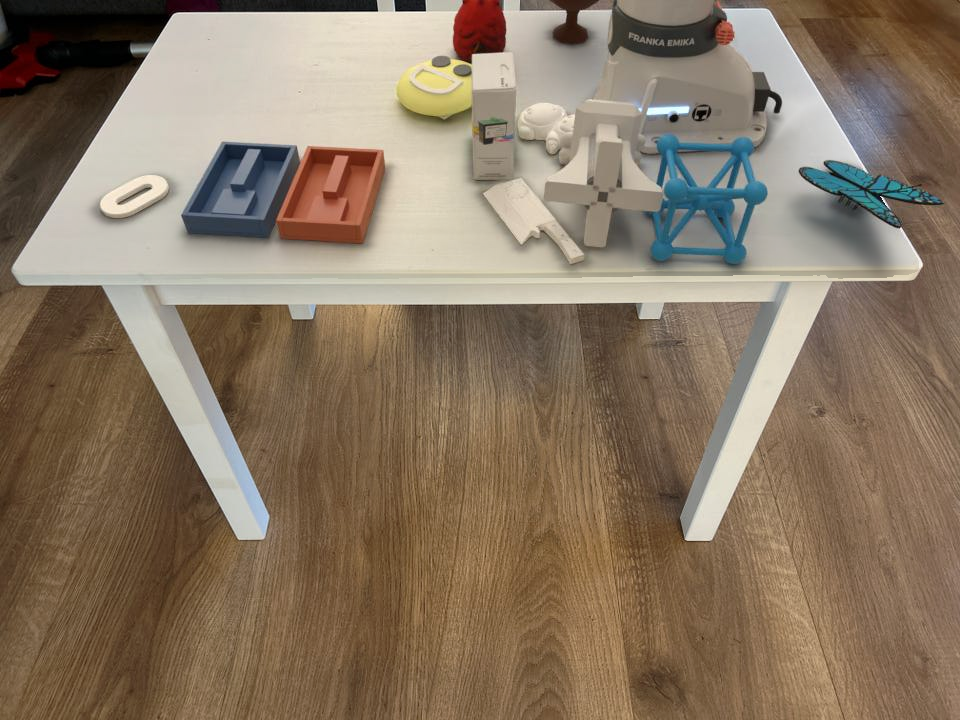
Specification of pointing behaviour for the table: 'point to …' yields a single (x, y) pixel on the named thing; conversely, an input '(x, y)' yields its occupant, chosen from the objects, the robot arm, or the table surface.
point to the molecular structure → (705, 198)
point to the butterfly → (866, 189)
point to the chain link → (120, 211)
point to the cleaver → (529, 216)
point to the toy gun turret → (603, 164)
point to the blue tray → (268, 189)
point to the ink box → (493, 115)
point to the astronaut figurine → (545, 124)
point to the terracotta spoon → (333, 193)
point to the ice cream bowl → (572, 21)
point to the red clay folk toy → (479, 29)
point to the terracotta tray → (311, 183)
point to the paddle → (242, 187)
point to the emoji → (437, 87)
